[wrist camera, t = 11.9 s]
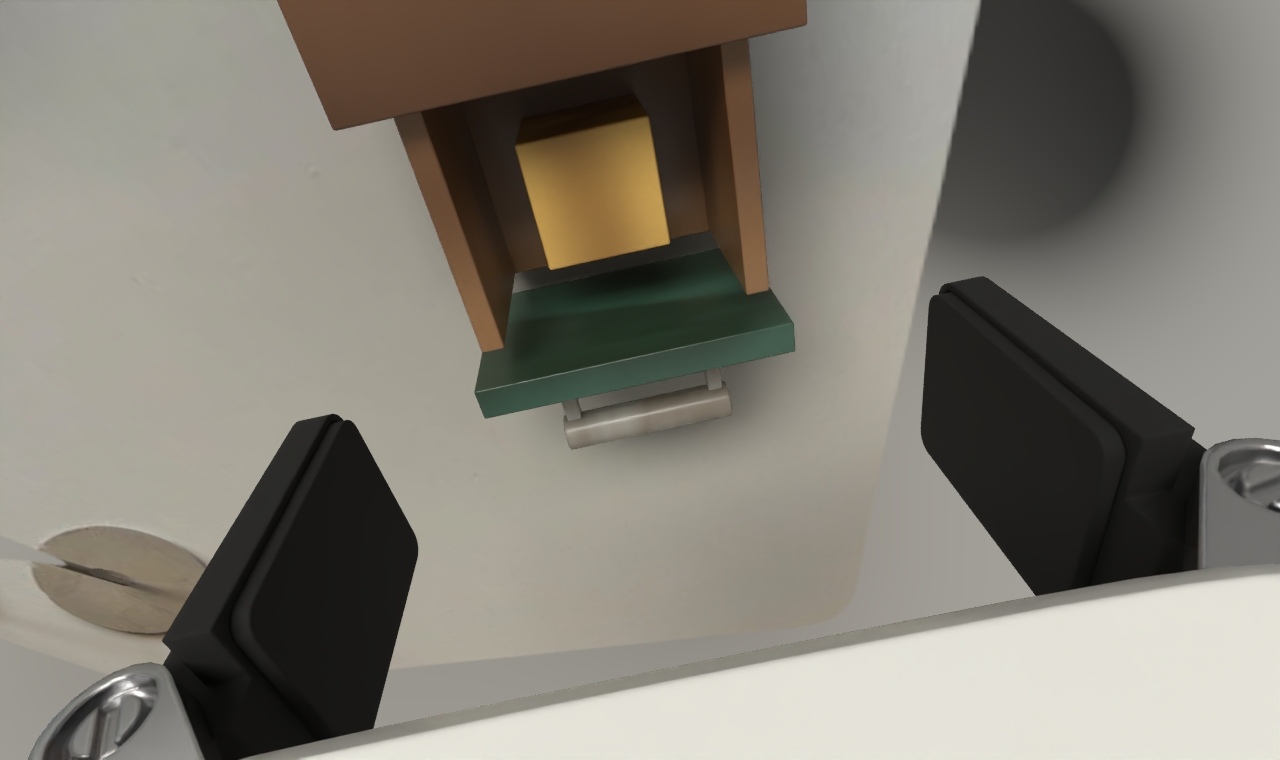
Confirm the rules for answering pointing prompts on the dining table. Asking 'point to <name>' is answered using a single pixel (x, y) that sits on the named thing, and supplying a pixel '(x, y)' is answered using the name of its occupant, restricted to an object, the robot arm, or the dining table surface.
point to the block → (593, 181)
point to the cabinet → (498, 45)
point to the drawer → (620, 300)
